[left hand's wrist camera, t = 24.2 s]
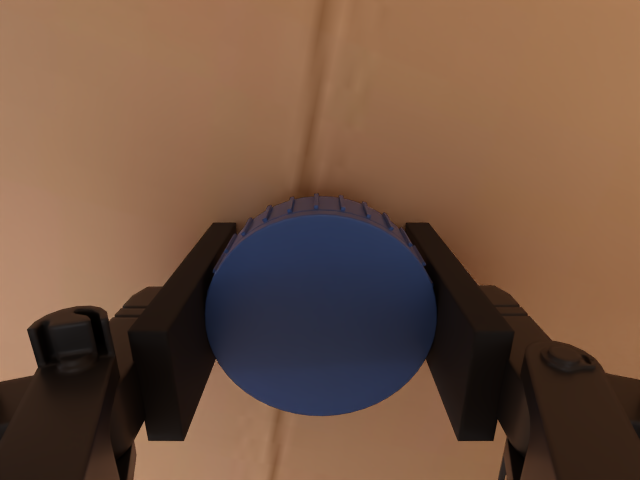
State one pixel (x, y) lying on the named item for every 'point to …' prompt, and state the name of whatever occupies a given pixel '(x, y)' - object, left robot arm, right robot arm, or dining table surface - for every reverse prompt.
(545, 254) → the dining table surface
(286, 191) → the dining table surface
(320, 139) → the dining table surface
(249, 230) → the lid
